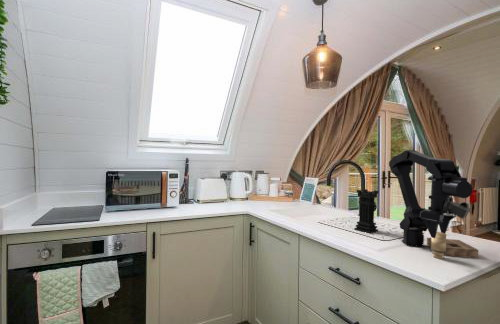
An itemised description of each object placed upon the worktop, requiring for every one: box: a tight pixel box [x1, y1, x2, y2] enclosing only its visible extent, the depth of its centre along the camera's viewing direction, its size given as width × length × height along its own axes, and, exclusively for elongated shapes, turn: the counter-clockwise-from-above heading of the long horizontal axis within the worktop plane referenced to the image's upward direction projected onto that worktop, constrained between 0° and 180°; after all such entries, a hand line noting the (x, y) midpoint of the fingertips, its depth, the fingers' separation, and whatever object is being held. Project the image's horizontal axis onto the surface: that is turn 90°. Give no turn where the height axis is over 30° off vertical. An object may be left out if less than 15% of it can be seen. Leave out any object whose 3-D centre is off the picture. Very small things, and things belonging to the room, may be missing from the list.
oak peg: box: [430, 231, 447, 260], centre depth 98 cm, size 4×4×9 cm
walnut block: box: [426, 237, 479, 259], centre depth 106 cm, size 12×12×3 cm
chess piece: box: [353, 188, 379, 234], centre depth 132 cm, size 8×8×20 cm
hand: (438, 235), depth 98 cm, fingers open, 9 cm apart
